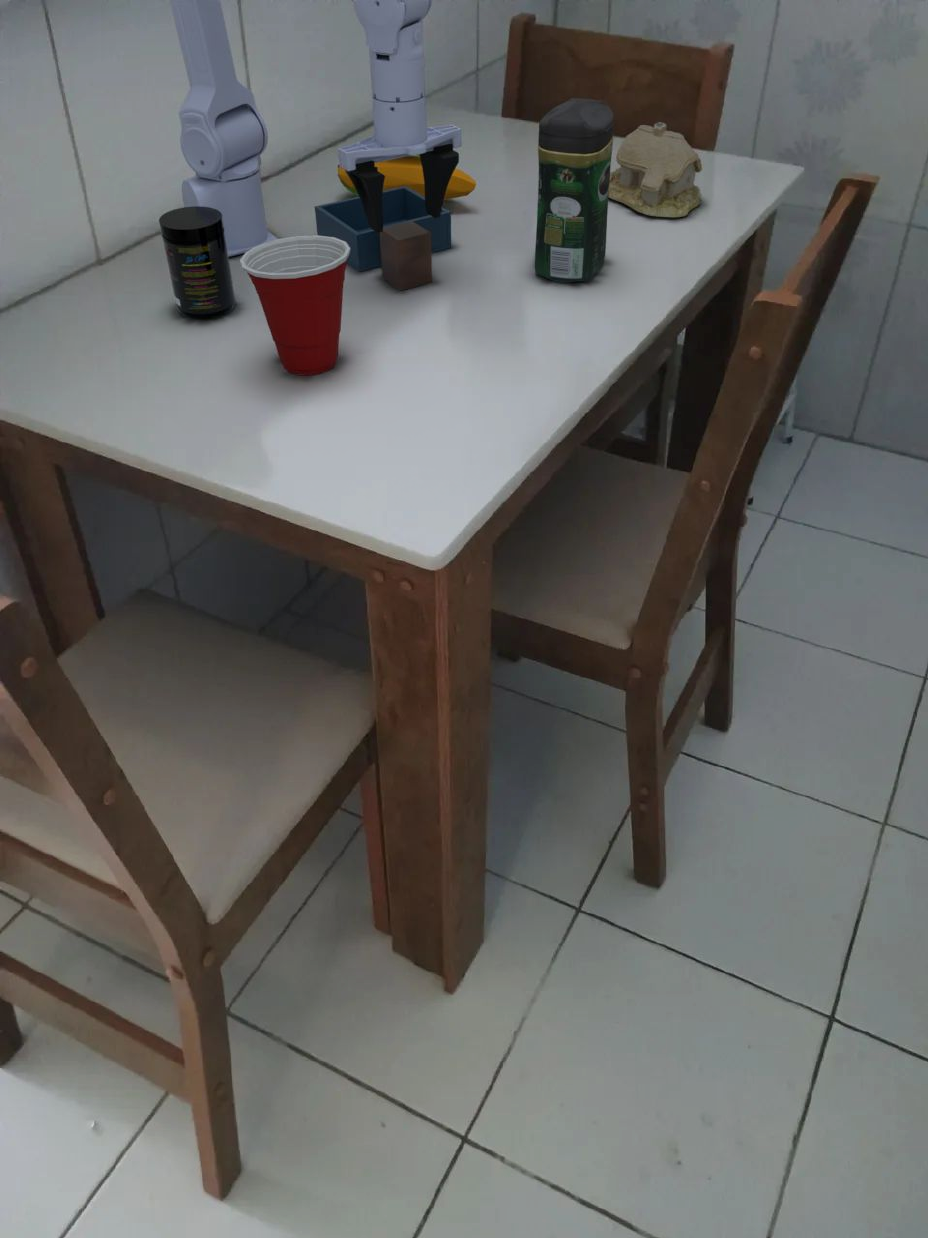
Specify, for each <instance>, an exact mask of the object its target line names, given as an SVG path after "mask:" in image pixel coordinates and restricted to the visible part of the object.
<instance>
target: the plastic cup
mask: <svg viewBox="0 0 928 1238" xmlns="http://www.w3.org/2000/svg"><path fill="white" fill-rule="evenodd" d="M349 254H350V247H349V246H348V244H347V243H346V242H345V241H342V240H340V239H337V238H335V237H327V236H318V235H317V234H316V235H315V234H314V235H296V236H295V235H294V236H290V237H284V238H278V239H277V240H274V241H271V242H267V243H264V244H261V245H258V246H256V247H254V248H253V249H251V250H249V251H247V252H246V253H243V254H242V256H241V258H240V259H239V262H240V265H241V267H242V269H243V271H244V272H245V273H247V275H248V277H249V278H250V280H251V283H252V285H253V286H254V289H255V291H256V294H257V296H258V299H259V302H260V305H261V307H262V311H263V314H264V316H265V320H266V323H267V327H268V329H269V332H270V335H271V339H272V340H273V342H274V345H275V348H276V351H277V354H278V357H279V361H280V364H281V365H282V366H283V369H284V370H285V371H287V372H288V373H289V374H294V375H297V376H313V375H320V374H323V373H325V372H328V371H330V370H331V369H332V368H334V367H335V366H336V363H337V360H338V356H339V346H340V333H341V330H342V329H341V328H342V326H341V325H342V313H343V298H344V283H345V279H346V269H347V258H348V256H349Z"/></svg>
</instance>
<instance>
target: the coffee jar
mask: <svg viewBox="0 0 928 1238" xmlns="http://www.w3.org/2000/svg"><path fill="white" fill-rule="evenodd" d="M614 135H615V114H614V112H613V111H612V110H611V108H610V107H609V106H608V105H607V104H606V103H605V102H604V101H603V100H599V99H589V98H588V99H587V98H578V97H577V98H576V97H570V98H569V99H568V100H567V101H565V102H563V103H561V104H559V105H557V106H555V107H553V108H552V109H551V110H550V111H548V112H547V113H546V114H545V115H544V116H543V117H542V118H541V120H540V121H539V122H538V139H537V140H538V141H537V155H538V156H537V157H538V184H537V185H538V187H537V211H536V231H535V247H534V270H535V272H536V274H538V275H539V276H542V277H544V278H546V279H547V280H551V281H553V282H558V283H572V282H573V283H574V282H586V281H588V280H590V279H591V278H593V277H594V276H595V275H596V274H597V273H598V272H599V270H600V269H601V268H602V266H603V264H604V262H605V259H606V252H607V251H606V249H607V233H608V213H609V212H608V211H609V181H610V172H611V167H612V166H611V165H612V157H613V156H612V154H613V145H614Z"/></svg>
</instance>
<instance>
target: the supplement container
mask: <svg viewBox="0 0 928 1238" xmlns="http://www.w3.org/2000/svg"><path fill="white" fill-rule="evenodd" d="M158 223H159V229H160V232H161V233H160V235H161V238H162V242H163V247H164V251H165V256H166V261H167V266H168V271H169V272H168V273H169V276H170V281H171V286H172V292H173V296H174V302H175V307H176V309H177V311H178V312H179V314H181V315H182V316H183V317H185V318H188V319H191V320H197V321H204V320H205V321H207V320H214V319H217V318H221V317H223V316H226V315H228V314H229V313H230V312H231V311H232V310H233V309H234V307H235V304H236V296H235V290H234V283H233V278H232V272H231V265H230V257H228V252H227V245H226V239H225V233H224V231H225V229H224V225H223V218H222V214H221V212H220V211H218V210H216V209H214V208H210V207H201V206H193V207H179V208H174V209H172V210H169V211H166V212H165V213H163V214H162V215H161V216H160V217H159V219H158Z"/></svg>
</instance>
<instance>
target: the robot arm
mask: <svg viewBox="0 0 928 1238" xmlns="http://www.w3.org/2000/svg"><path fill="white" fill-rule="evenodd" d="M351 2H353V9H354V12H355V15H356V17H357V19H358V21H359V23H360V24H361V26H362V27H363V30H364V33H365V40H366V41H365V43H366V46H368V55H369V68H370V70H369V71H370V72H369V73H370V85H371V86H370V87H371V101H372V116H373V117H372V118H373V132H374V135H373V136H369V137H367V138H365V139H362V140H360V141H357V142H354V143H352V144H350V145H349V144H348V145H345V146H342V147H338V148H337V153H338V154H337V155H338V165H340V167H342V168H343V169H345V171H346V173H347V175H348V176H349V178H350V179H351V181H352V183H353V185H354V187H355V189H356V191H357V193H358V195H359V196H358V197H360V199H361V202H362V204H363V207H364V210H365V213H366V217H367V220H368V224H369V228H371V229H372V230H374V231H375V232H382V231H383V211H382V194H383V184H384V179H385V176H384V175H383V174H382V173H380V172H378V171H377V167H375V164H374V163H378V162H382V161H387V160H391V159H396V158H401V157H405V156H410V155H418V154H419V155H420V159H421V164H422V170H423V176H424V186H425V206H426V212H427V214H429V215H431V216H432V217H434V218H439V217H440V215H441V210H442V207H443V206H444V205H443V204H444V201H445V200H444V196H445V193H446V189H447V186H448V183H449V181H450V178H451V176H452V174H453V172H454V170H455V168H456V169H457V166H458V164H459V163H460V153H459V152H458V151H456V150H454V149H457V148H461V147H462V146H463V145H462V142H463V141H462V128H461V127H458V126H456V125H454V124H447V125H443V126H442V125H440V126H429V127H427V101H426V99H427V98H426V73H425V71H426V70H425V68H426V67H425V44H424V43H425V41H424V40H425V39H424V37H425V36H424V21H423V19H425V18H426V17H427V15H428V14H429V12H430V10H431V7H432V4H433V0H351ZM169 4H170V8H171V11H172V12H171V13H172V16H173V21H174V25H175V29H176V33H177V37H178V38H177V39H178V42H179V47H180V51H181V55H182V58H183V63H184V67H185V71H186V76H187V80H188V83H189V90H188V91H187V93H186V96H185V98H184V99H183V101H182V104H181V106H180V108H179V110H178V116H179V120H180V126H181V129H180V130H181V131H180V140H179V141H180V142H179V144H180V149H181V153H182V156H183V157H184V160H185V162H186V163H187V165H188V166H189V167H190V169H191V170H192V171H193V172H195V175H194V176H192V177H189V178H186V179H184V180H183V181H182V182H181V195H182V202H183V206H184V207H193V206H201V207H210V208H214V209H216V210H218V211H220V212H221V214H222V218H223V225H224V229H225V231H224V233H225V239H226V245H227V252H228V258H230V257H233V256H238V255H243V254H245V253H246V252H247V251H249V250H251V249H253V248H254V247H256V246H258V245H261V244H264V243H267V242H271V241H274V240H277V239H279V238H278V237H276V236H275V235H274V234H273V233H271V232H270V231H269V230H268V227H267V219H266V212H265V211H266V210H265V204H264V196H263V188H262V181H261V173H260V165H262V154H263V153H264V152H265V151H266V148H267V146H268V141H269V139H268V138H269V136H268V135H269V134H268V133H269V132H268V128H267V125H266V122H265V120H264V118H263V117H262V115H261V113H260V112H259V110H258V107H257V104H256V100H255V99H256V98H255V96H254V93H253V92H252V91H251V90H250V89H249V88H247V87H246V86H245V85H244V84H243V83H241V82H239V80H238V78H237V74H236V69H235V64H234V60H233V59H234V58H233V55H232V50H231V45H230V41H229V36H228V31H227V27H226V22H225V21H226V20H225V17H224V12H223V8H222V3H221V0H169ZM184 207H183V208H184Z"/></svg>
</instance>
